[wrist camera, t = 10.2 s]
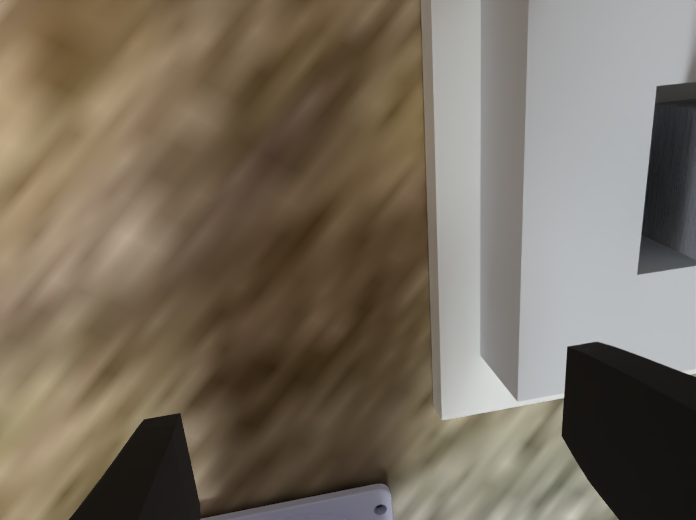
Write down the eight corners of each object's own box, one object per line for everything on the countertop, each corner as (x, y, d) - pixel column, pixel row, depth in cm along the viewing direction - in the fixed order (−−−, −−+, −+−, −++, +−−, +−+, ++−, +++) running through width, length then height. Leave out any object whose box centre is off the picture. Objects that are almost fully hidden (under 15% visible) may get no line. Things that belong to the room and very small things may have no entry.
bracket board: (792, 340, 25) (887, 391, 22) (433, 405, 23) (472, 474, 19) (898, -158, 19) (1060, -206, 15) (416, -138, 17) (470, -188, 13)
